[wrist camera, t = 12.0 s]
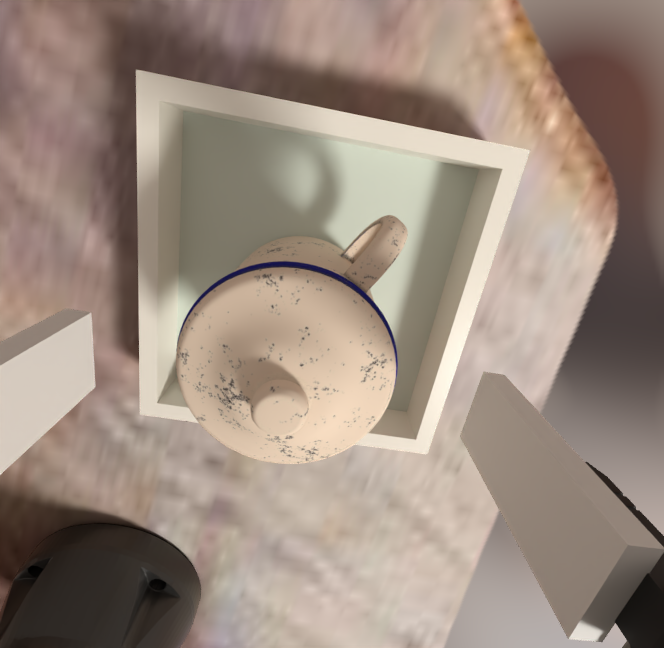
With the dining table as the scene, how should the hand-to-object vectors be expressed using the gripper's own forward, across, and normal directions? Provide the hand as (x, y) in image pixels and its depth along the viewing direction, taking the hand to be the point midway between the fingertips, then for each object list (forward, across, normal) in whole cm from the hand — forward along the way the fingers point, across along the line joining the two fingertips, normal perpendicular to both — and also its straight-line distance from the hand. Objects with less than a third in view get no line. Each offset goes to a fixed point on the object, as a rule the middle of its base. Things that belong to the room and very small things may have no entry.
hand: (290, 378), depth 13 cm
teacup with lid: (+11, +1, 0) cm, 11 cm away
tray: (+12, 0, 0) cm, 12 cm away
